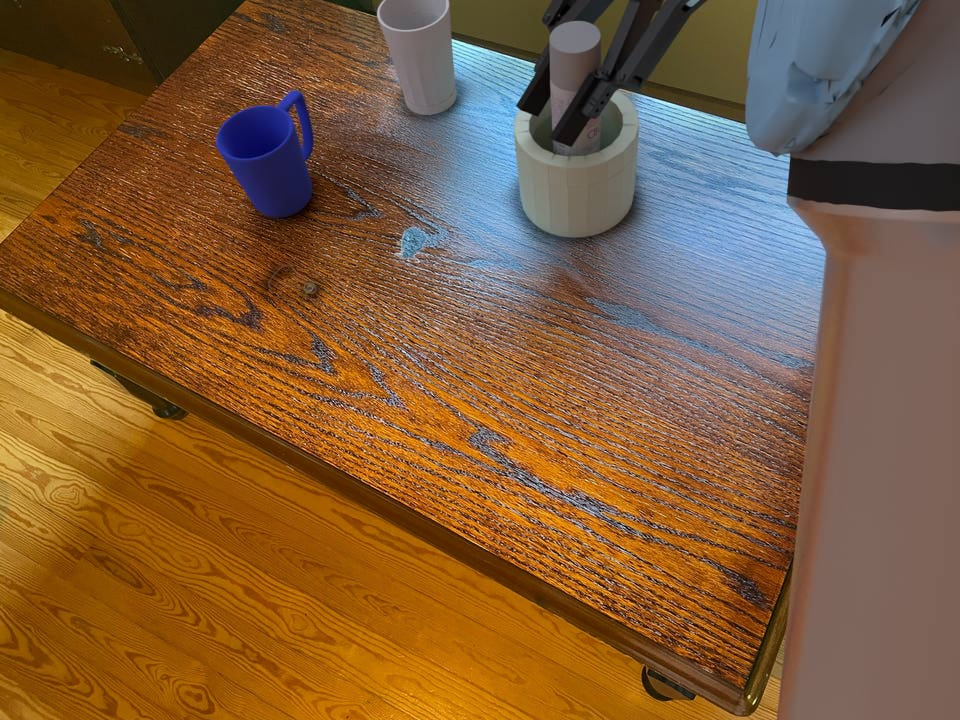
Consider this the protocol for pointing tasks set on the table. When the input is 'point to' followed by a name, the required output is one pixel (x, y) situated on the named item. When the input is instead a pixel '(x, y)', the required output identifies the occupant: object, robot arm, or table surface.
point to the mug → (270, 155)
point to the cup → (421, 51)
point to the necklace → (304, 286)
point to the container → (574, 79)
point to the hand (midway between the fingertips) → (543, 126)
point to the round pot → (578, 172)
